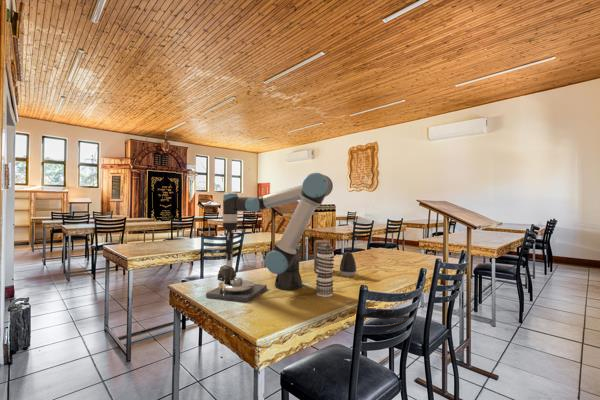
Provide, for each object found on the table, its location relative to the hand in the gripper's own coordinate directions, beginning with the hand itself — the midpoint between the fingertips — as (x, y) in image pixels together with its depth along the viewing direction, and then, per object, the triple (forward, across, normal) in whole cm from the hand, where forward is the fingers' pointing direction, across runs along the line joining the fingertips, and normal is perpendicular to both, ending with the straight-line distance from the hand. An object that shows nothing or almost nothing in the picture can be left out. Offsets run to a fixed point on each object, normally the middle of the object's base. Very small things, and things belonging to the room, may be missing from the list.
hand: (229, 266), depth 158 cm
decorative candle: (+11, +15, +49) cm, 53 cm away
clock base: (+11, +10, +6) cm, 16 cm away
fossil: (+12, -18, -4) cm, 22 cm away
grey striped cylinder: (+11, -33, +56) cm, 66 cm away
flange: (+8, +9, +5) cm, 13 cm away
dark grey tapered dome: (+11, -20, +70) cm, 74 cm away
